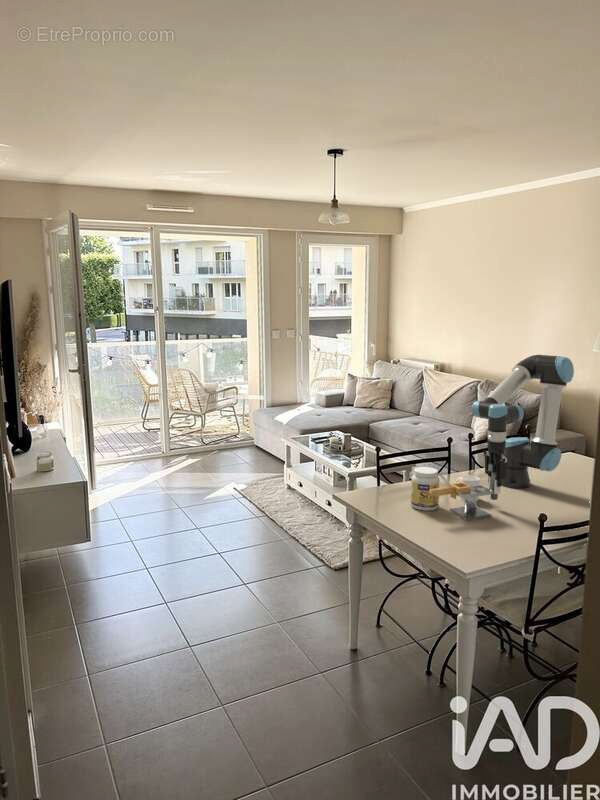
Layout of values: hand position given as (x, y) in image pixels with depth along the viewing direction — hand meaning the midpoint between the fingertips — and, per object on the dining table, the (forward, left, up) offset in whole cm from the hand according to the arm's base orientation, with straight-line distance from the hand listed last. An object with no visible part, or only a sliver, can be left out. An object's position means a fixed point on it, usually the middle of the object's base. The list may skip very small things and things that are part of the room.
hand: (494, 491), depth 259 cm
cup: (+3, -16, -8) cm, 18 cm away
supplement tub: (+27, -14, -8) cm, 31 cm away
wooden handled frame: (+25, +1, +1) cm, 25 cm away
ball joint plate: (+15, +1, -8) cm, 17 cm away
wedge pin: (0, 0, -3) cm, 3 cm away
